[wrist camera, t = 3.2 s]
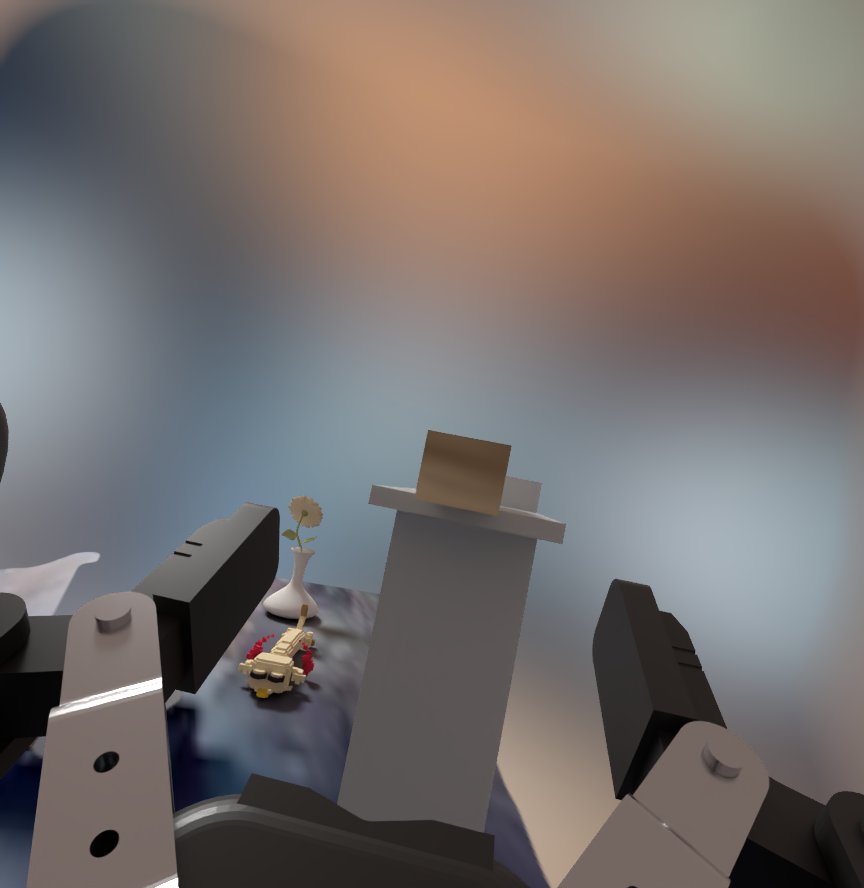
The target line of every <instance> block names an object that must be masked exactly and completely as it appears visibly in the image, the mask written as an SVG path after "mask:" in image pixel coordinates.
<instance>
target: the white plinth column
mask: <svg viewBox="0 0 864 888" xmlns="http://www.w3.org/2000/svg"><path fill="white" fill-rule="evenodd" d="M541 484H542V483H539V482H533V481H528V480H523V479H518V478H513V477H507V476H506V477H505V482H504V488H503V493H502V498H501V504H500V509H499V514H498V516H495V515H490V514H485V513H481V512H476V511H471V510H466V509H461V508H456V507H451V506H446V505H442V504H437V503H432V502H427V501H422V500H417V499H414V498H415V493H416V489H412V488H402V487H391V486H380V485H372V489H371V494H370V498H369V504H373V505H377V506H382V507H387V508H392V509H397V513H396V518H395V523H394V528H393V533H392V538H391V543H390V547H389V552H388V557H387V562H386V567H385V572H384V577H383V582H382V587H381V592H380V597H379V601H378V606H377V611H376V616H375V621H374V626H373V631H372V636H371V641H370V646H369V651H368V656H367V660H366V665H365V670H364V675H363V680H362V685H361V690H360V695H359V700H358V705H357V710H356V714H355V719H354V724H353V729H352V734H351V739H350V744H349V749H348V754H347V759H346V764H345V768H344V773H343V778H342V783H341V788H340V793H339V798H338V803H337V805H339V806H340V807H342V808H344V809H346V810H347V811H349V812H351V813H352V814H354V815H356V816H357V817H359V818H361V819H363V820H366V821H405V820H436V821H439V822H443V823H447V824H451V825H455V826H459V827H463V828H467V829H471V830H475V831H478V832H482V833H484V828H485V822H486V817H487V811H488V806H489V800H490V795H491V789H492V784H493V778H494V773H495V767H496V762H497V756H498V751H499V746H500V740H501V734H502V729H503V723H504V718H505V712H506V707H507V701H508V696H509V690H510V685H511V680H512V674H513V669H514V663H515V658H516V652H517V647H518V641H519V636H520V630H521V625H522V619H523V614H524V609H525V603H526V598H527V592H528V587H529V580H530V576H531V570H532V564H533V559H534V554H535V548H536V543H537V539H540V540H545V541H550V542H555V543H559V544H562V543H563V537H564V532H565V525H566V524H564V523H562V522H559V521H556V520H554V519H551V518H548V517H546V516H542V515H540V514H537V513H536V512H537V506H538V501H539V495H540V490H541Z"/></svg>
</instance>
